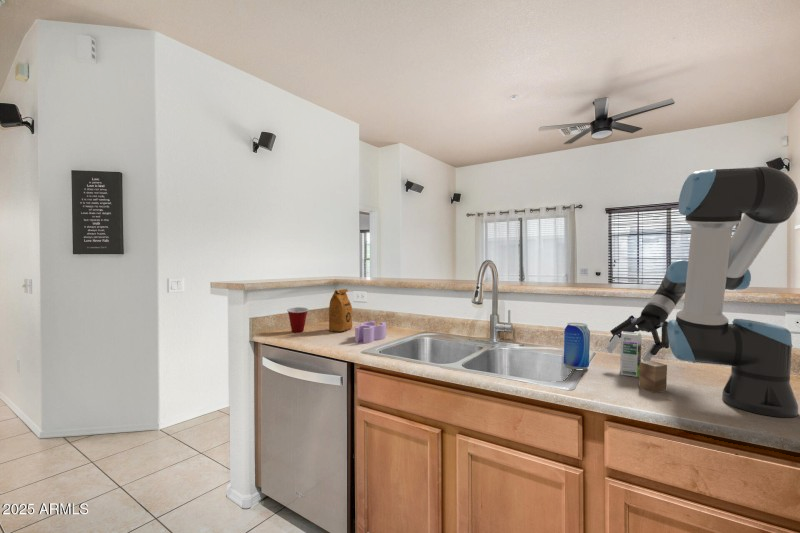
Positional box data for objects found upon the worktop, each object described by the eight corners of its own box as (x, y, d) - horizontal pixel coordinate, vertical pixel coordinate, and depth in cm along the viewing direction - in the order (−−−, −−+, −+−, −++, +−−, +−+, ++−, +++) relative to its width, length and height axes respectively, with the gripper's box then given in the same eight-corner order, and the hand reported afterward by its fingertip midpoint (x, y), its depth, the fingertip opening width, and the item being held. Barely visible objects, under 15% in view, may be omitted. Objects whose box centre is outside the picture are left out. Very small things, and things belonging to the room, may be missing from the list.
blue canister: (558, 365, 139) (559, 323, 139) (573, 363, 143) (574, 321, 143) (578, 372, 132) (579, 327, 131) (594, 369, 136) (595, 325, 135)
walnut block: (666, 391, 114) (667, 365, 114) (654, 393, 113) (655, 366, 112) (650, 385, 119) (651, 360, 119) (639, 387, 117) (639, 362, 117)
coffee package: (355, 329, 203) (355, 288, 202) (341, 333, 192) (341, 290, 191) (340, 327, 207) (340, 287, 207) (326, 331, 196) (326, 289, 196)
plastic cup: (286, 334, 188) (286, 310, 188) (287, 330, 199) (287, 307, 198) (308, 333, 191) (308, 310, 190) (308, 329, 201) (308, 307, 201)
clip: (372, 344, 169) (372, 329, 169) (348, 341, 174) (348, 327, 174) (390, 336, 188) (391, 322, 188) (368, 333, 193) (368, 320, 193)
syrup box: (620, 375, 129) (622, 333, 129) (619, 370, 134) (621, 330, 134) (640, 377, 127) (641, 335, 126) (638, 373, 132) (640, 332, 131)
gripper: (700, 323, 124) (667, 373, 119) (630, 312, 147) (600, 353, 142) (690, 308, 122) (656, 357, 117) (620, 299, 145) (590, 340, 140)
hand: (625, 355), depth 129 cm, fingers open, 13 cm apart
